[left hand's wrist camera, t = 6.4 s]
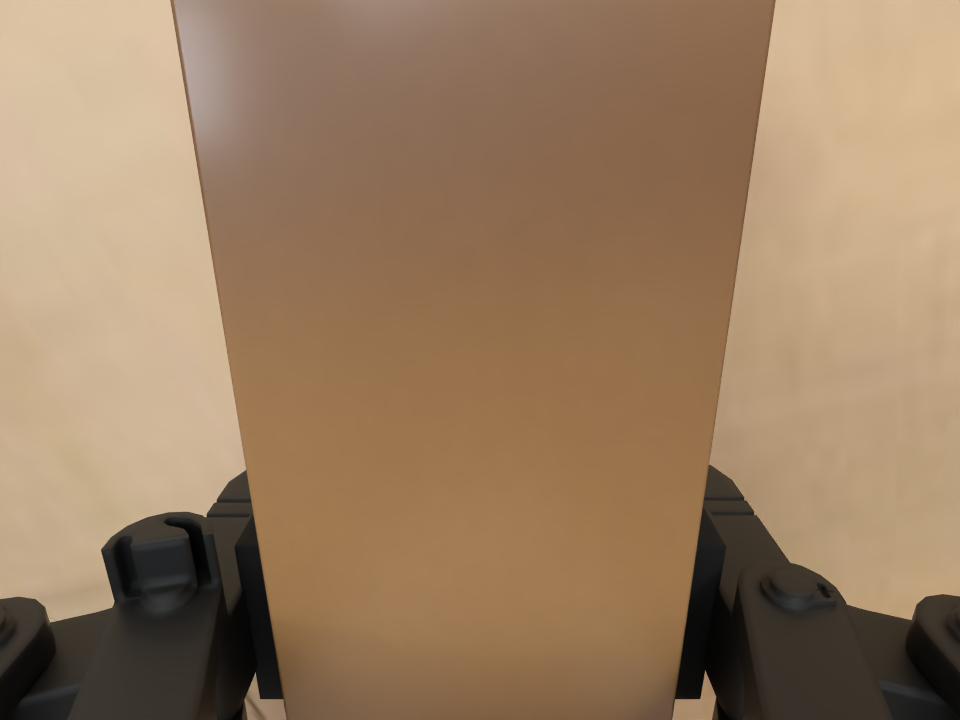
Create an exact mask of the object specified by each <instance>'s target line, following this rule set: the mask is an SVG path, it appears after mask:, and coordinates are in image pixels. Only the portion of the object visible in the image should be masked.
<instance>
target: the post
mask: <svg viewBox="0 0 960 720" xmlns="http://www.w3.org/2000/svg"><path fill="white" fill-rule="evenodd" d="M775 1H776V0H171V6H172V13H173V19H174V25H175V31H176V37H177V44H178V50H179V56H180V62H181V68H182V75H183V81H184V87H185V93H186V99H187V105H188V112H189V118H190V124H191V130H192V136H193V143H194V149H195V155H196V161H197V167H198V174H199V180H200V186H201V192H202V198H203V204H204V211H205V217H206V223H207V229H208V235H209V242H210V248H211V254H212V260H213V266H214V273H215V279H216V285H217V291H218V297H219V303H220V310H221V316H222V322H223V328H224V334H225V341H226V347H227V353H228V359H229V365H230V372H231V378H232V384H233V390H234V396H235V402H236V409H237V415H238V421H239V427H240V433H241V440H242V446H243V452H244V458H245V464H246V471H247V477H248V483H249V489H250V495H251V501H252V508H253V514H254V520H255V526H256V532H257V539H258V545H259V551H260V557H261V563H262V570H263V576H264V582H265V588H266V594H267V600H268V607H269V613H270V619H271V625H272V631H273V638H274V644H275V650H276V656H277V662H278V669H279V675H280V681H281V687H282V693H283V699H284V706H285V712H286V718H287V720H672V717H673V710H674V703H675V696H676V689H677V682H678V675H679V668H680V661H681V654H682V647H683V640H684V633H685V626H686V619H687V612H688V605H689V598H690V591H691V584H692V578H693V571H694V564H695V557H696V550H697V543H698V536H699V529H700V522H701V515H702V508H703V501H704V494H705V487H706V480H707V473H708V466H709V459H710V452H711V446H712V439H713V432H714V425H715V418H716V411H717V404H718V397H719V390H720V383H721V376H722V369H723V362H724V355H725V348H726V341H727V334H728V327H729V320H730V313H731V307H732V300H733V293H734V286H735V279H736V272H737V265H738V258H739V251H740V244H741V237H742V230H743V223H744V216H745V209H746V202H747V195H748V188H749V181H750V174H751V168H752V161H753V154H754V147H755V140H756V133H757V126H758V119H759V112H760V105H761V98H762V91H763V84H764V77H765V70H766V63H767V56H768V49H769V42H770V36H771V29H772V22H773V15H774V8H775Z"/></svg>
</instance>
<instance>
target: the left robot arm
mask: <svg viewBox="0 0 960 720" xmlns="http://www.w3.org/2000/svg"><path fill="white" fill-rule="evenodd" d="M101 552H102V555H103V559H104V563H105V567H106V570H107V574H108V578H109V582H110V585H111V589H112V593H113V597H114V601H115V603H114V605H113V608H110V609H107V610H103V611H100V612H96V613H92V614H87V615H83V616H78V617H74V618H69V619H65V620H60V621H56V622H51V623H50V622H49V619H48V615H47V612H46V609H45V607H44V606H43V605H42V604H40V603H39V602H38V601H37V600H36V599H30V598H23V597H14V598H6V599H0V720H247V713H246V707H245V702H244V699H245V697H246V694H247V692H248V689H249V687H250V684H251V682H252V679H253V677H254V675H255V672H256V677H257V682H258V688H259V694H260V699H283V693H282V687H281V681H280V675H279V669H278V662H277V656H276V650H275V644H274V638H273V631H272V625H271V619H270V613H269V607H268V600H267V594H266V588H265V582H264V576H263V570H262V563H261V557H260V551H259V545H258V539H257V532H256V526H255V520H254V514H253V508H252V501H251V495H250V489H249V483H248V477H247V471H244V472H243V473H241V474H240V475H238V476H237V477H235V478H234V479H233V480H231V481H230V482H229V483H228V484H227V486H226V487H225V488H224V490H223V491H222V493H221V494H220V496H219V497H218V499H217V503H214V504H213V506H212V507H211V509H210V510H209V511H208V513H207V517H206V518H205V517H204V516H202V515H198V514H194V513H190V512H168V513H164V514H160V515H155V516H151V517H147V518H145V519H142V520H140V521H138V522H135V523H133V524H131V525H128V526H127V527H125V528H124V529H122V530H121V531H119V532H118V533H117V534H115V535H114V536H112V537H111V538H110V539H109V541H108V542H107V543H106V544H105V546H104V547H103V548H102V549H101ZM705 670H706V673H707V675H708V677H709V680H710V682H711V685H712V687H713V690H714V692H715V695H716V702H715V707H714V712H713V718H712V720H960V597H959V596H952V595H944V594H942V595H935V596H928V597H925V598H924V599H923V600H922V601H920V602H919V603H918V604H917V605H916V608H915V611H914V614H913V618H912V620H908V619H903V618H899V617H894V616H890V615H885V614H881V613H876V612H872V611H867V610H863V609H859V608H856V607H853V606H849V605H847V604H846V602H845V600H844V598H843V597H842V595H841V594H840V593H839V591H838V590H837V588H836V587H835V586H834V585H832V584H831V583H830V582H829V581H827V580H826V579H825V578H823V577H822V576H821V575H819V574H817V573H815V572H813V571H811V570H809V569H807V568H805V567H803V566H800V565H796V564H793V563H790V562H789V561H788V559H787V558H786V556H785V555H784V554H783V552H782V551H781V549H780V548H779V546H778V545H777V544H776V542H775V541H774V539H773V538H772V536H771V535H770V534H769V532H768V531H767V529H766V528H765V526H764V525H763V524H762V522H761V521H760V519H759V518H758V516H757V515H754V511H753V509H752V508H751V506H750V505H749V504H748V502H747V501H744V497H743V495H742V494H741V492H740V491H739V489H738V488H737V487H736V485H735V484H734V482H733V481H732V480H731V479H730V478H728V477H727V476H725V475H724V474H723V473H721V472H720V471H718V470H717V469H715V468H714V467H712V466H711V465H709V466H708V473H707V480H706V487H705V494H704V501H703V508H702V515H701V522H700V529H699V536H698V543H697V550H696V557H695V564H694V571H693V578H692V584H691V591H690V598H689V605H688V612H687V619H686V626H685V633H684V640H683V647H682V654H681V661H680V668H679V675H678V682H677V689H676V696H675V699H700V697H701V691H702V685H703V680H704V674H705Z"/></svg>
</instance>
